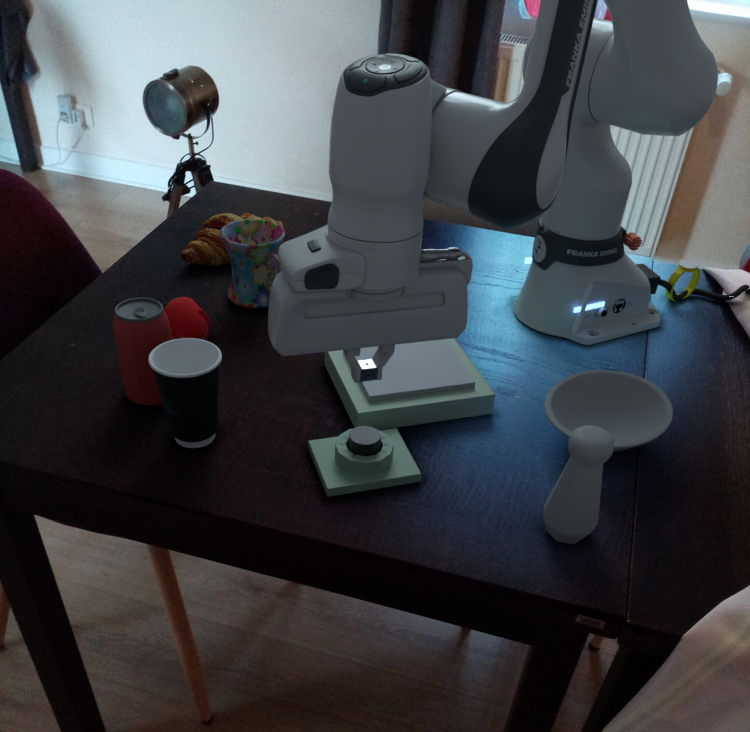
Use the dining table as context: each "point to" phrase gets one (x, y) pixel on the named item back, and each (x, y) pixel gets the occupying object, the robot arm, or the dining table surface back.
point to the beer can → (140, 346)
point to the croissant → (214, 240)
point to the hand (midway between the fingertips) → (366, 378)
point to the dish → (610, 406)
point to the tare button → (364, 441)
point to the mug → (252, 260)
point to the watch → (682, 267)
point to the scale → (412, 386)
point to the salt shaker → (578, 486)
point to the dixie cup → (189, 388)
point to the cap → (187, 319)
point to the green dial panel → (363, 464)
